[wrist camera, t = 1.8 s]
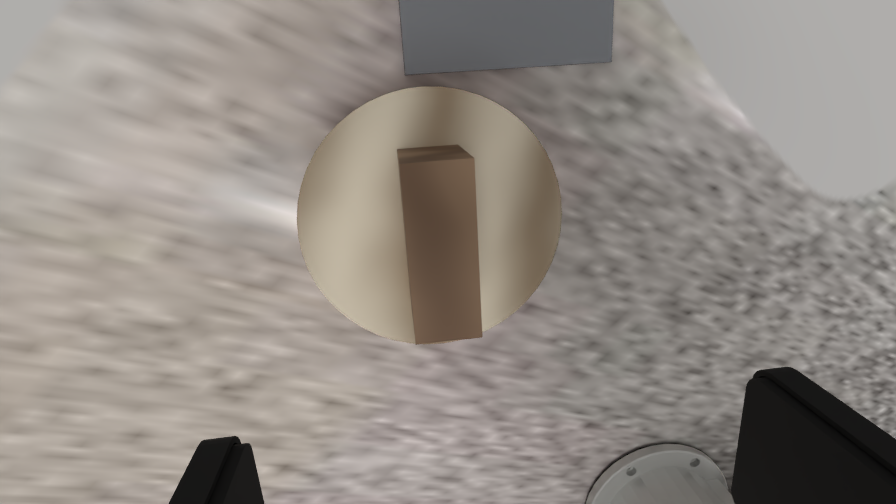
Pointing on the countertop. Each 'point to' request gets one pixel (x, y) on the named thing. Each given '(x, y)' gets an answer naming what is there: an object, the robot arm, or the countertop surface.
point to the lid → (429, 215)
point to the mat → (503, 34)
